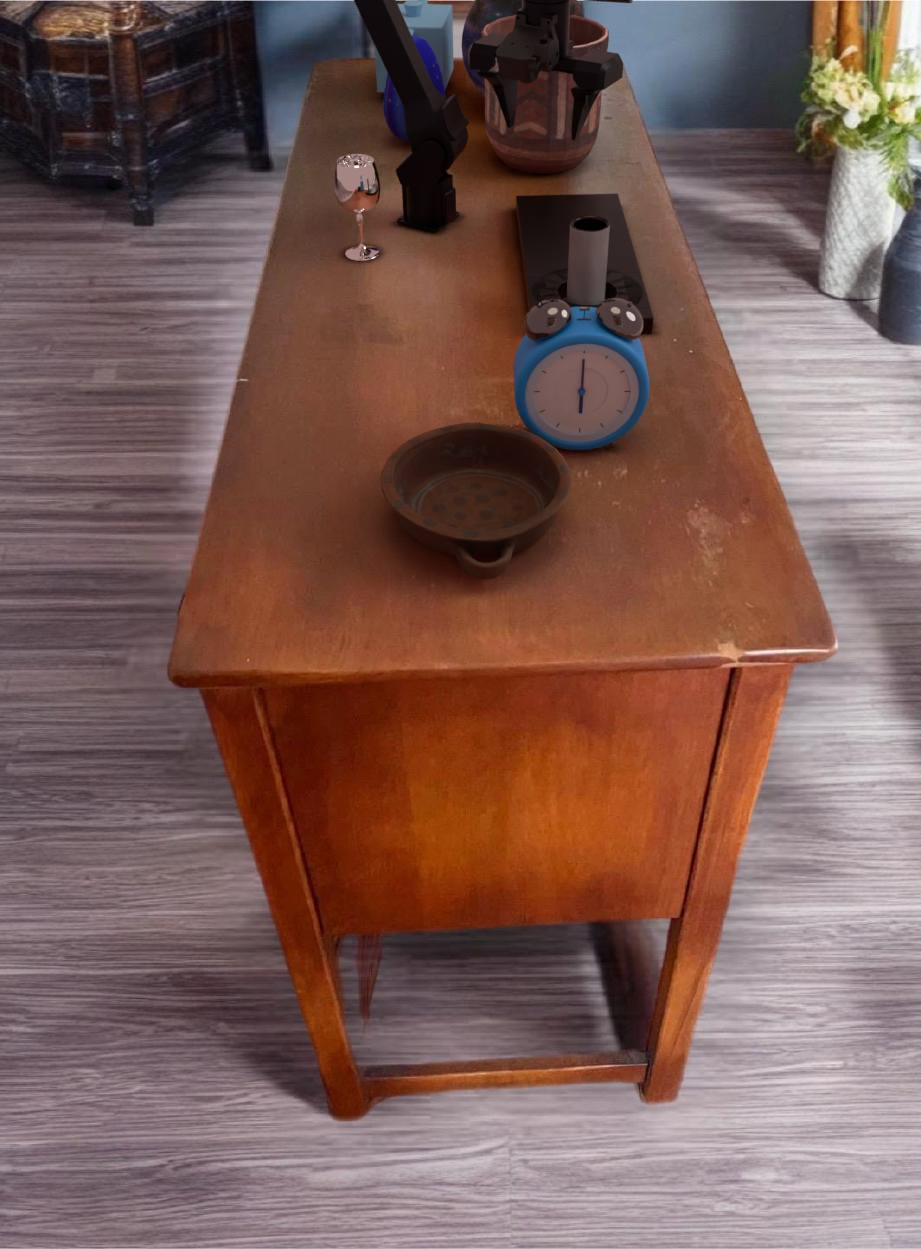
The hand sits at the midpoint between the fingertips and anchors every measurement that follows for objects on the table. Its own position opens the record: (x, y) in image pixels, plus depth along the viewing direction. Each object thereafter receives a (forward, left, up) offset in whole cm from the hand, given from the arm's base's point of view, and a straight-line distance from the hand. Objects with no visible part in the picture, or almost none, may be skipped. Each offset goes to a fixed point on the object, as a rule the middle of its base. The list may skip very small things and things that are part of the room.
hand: (542, 133), depth 150 cm
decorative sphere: (-25, +41, -13) cm, 50 cm away
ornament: (-33, +21, -13) cm, 41 cm away
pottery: (-12, +23, -13) cm, 29 cm away
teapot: (-46, +42, -13) cm, 63 cm away
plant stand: (+9, -7, -13) cm, 17 cm away
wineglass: (-17, -17, -13) cm, 27 cm away
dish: (+25, -59, -13) cm, 65 cm away
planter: (+15, -16, -13) cm, 25 cm away
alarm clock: (+27, -42, -13) cm, 52 cm away
